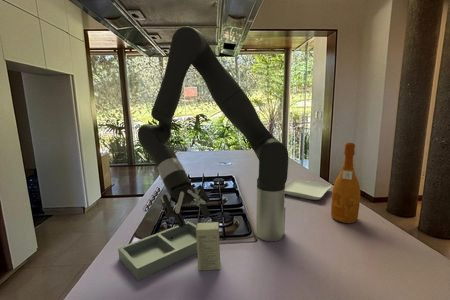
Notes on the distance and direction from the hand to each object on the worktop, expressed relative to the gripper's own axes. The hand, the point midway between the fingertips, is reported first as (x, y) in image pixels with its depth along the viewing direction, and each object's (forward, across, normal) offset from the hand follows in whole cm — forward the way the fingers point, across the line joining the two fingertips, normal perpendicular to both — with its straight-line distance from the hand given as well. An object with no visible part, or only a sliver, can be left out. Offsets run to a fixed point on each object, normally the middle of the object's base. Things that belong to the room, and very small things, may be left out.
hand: (196, 222), depth 76 cm
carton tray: (+2, -5, +14) cm, 15 cm away
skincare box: (+12, 0, +4) cm, 13 cm away
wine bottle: (+21, +57, -5) cm, 61 cm away
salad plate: (+3, +72, +14) cm, 73 cm away
